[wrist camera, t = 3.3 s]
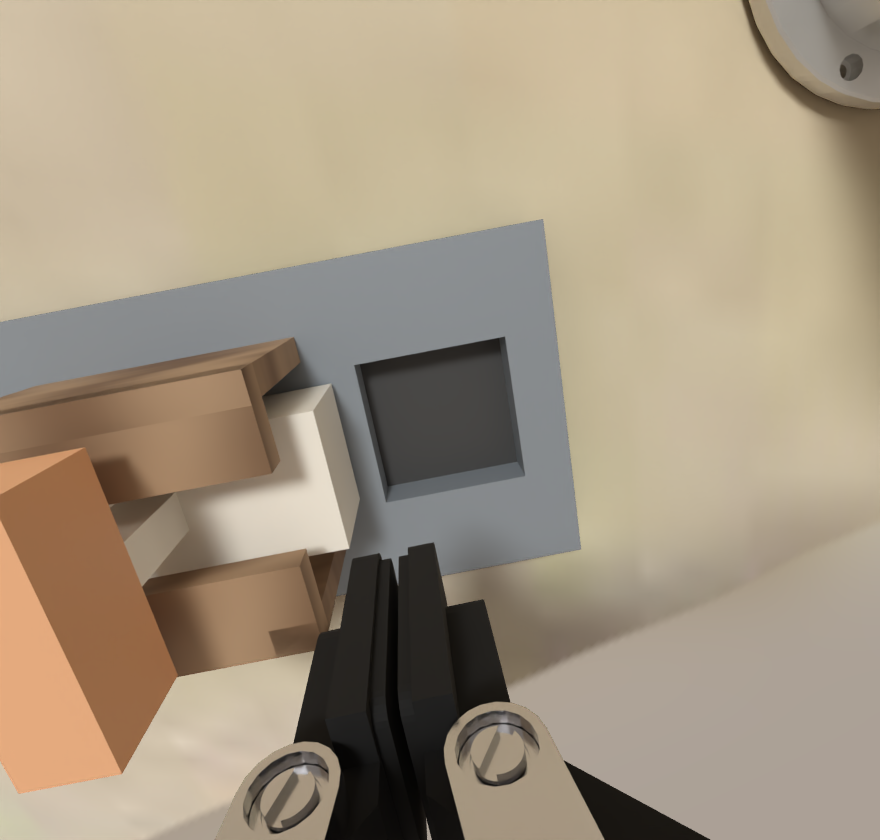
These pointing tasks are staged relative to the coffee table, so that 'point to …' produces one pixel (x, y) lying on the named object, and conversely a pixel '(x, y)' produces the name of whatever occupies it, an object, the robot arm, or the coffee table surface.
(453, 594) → the coffee table surface
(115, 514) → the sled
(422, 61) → the coffee table surface
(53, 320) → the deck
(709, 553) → the coffee table surface
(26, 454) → the tunnel
